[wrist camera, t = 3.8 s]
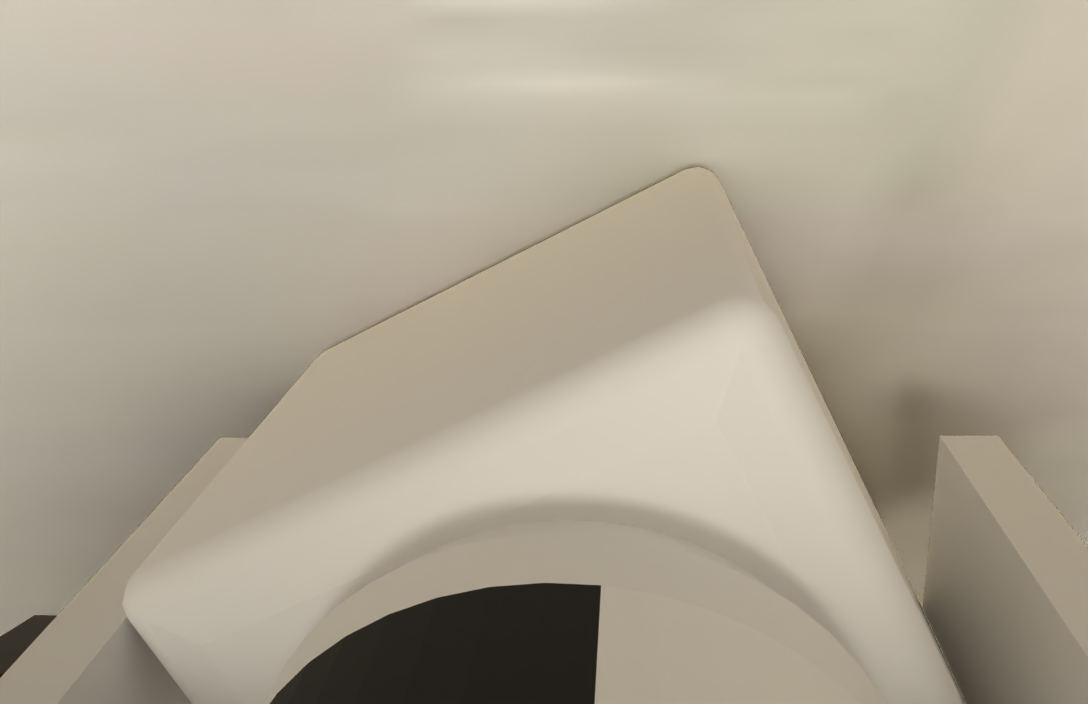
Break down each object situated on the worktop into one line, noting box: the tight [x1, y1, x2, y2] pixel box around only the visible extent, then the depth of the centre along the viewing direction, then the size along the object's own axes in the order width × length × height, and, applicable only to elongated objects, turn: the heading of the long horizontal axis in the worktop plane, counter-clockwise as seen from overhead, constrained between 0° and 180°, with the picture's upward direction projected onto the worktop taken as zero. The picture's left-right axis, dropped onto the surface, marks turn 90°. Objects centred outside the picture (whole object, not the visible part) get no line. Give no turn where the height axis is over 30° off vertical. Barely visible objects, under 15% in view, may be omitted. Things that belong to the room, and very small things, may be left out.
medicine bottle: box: [122, 167, 966, 704], centre depth 11 cm, size 7×7×12 cm
